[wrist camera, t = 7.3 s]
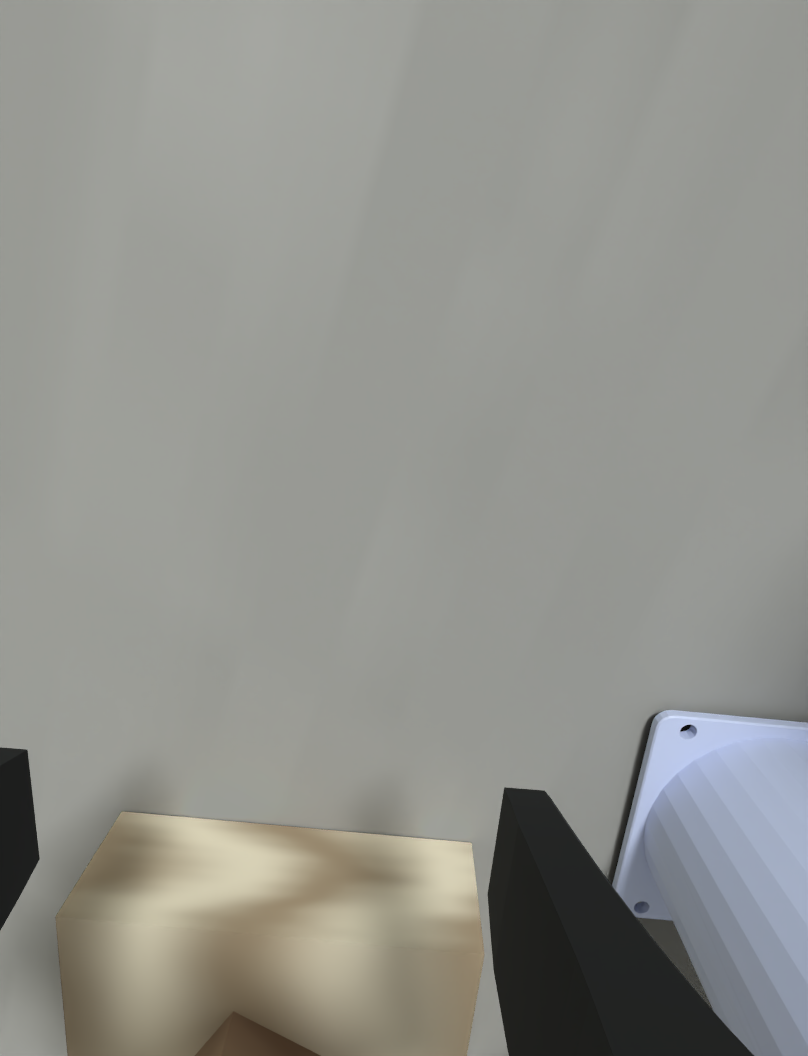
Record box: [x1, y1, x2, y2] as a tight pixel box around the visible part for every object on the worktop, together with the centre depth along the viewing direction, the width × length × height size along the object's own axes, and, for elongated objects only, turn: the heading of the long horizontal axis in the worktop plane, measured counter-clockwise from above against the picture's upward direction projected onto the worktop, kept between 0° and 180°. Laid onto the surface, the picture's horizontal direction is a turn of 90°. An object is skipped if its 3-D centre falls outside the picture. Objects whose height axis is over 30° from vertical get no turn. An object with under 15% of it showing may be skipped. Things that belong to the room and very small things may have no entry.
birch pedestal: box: [55, 811, 484, 1056], centre depth 21 cm, size 12×12×4 cm
